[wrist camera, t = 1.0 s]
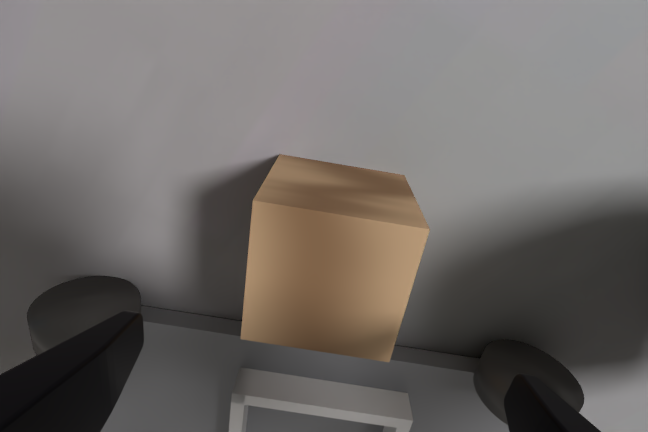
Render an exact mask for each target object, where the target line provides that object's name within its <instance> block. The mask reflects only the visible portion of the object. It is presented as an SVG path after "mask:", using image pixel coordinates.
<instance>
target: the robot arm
mask: <svg viewBox="0 0 648 432" xmlns="http://www.w3.org/2000/svg"><path fill="white" fill-rule="evenodd" d="M143 344H144V327H143V316H142V314H141V313H139V312H133V311H127V310H125V311H121V312H119V313H117V314H115V315H113V316H112V317H110V318H108V319H106V320H104V321H102V322H100V323H98V324H96V325H94V326H92V327H91V328H89V329H87V330H85V331H83V332H81V333H79V334H77V335H75V336H73V337H71V338H69V339H68V340H66V341H64V342H62V343H60V344H58V345H56V346H54V347H52V348H50V349H48V350H47V351H45V352H43V353H41V354H39V355H37V356H35V357H33V358H31V359H29V360H27V361H25V362H24V363H22V364H20V365H18V366H16V367H14V368H12V369H10V370H8V371H6V372H4V373H3V374H1V375H0V432H100V431H101V430H102V428H103V427H104V425H105V423H106V422H107V420H108V418H109V416H110V415H111V413H112V411H113V409H114V407H115V405H116V403H117V401H118V399H119V397H120V395H121V393H122V390H123V388H124V386H125V384H126V382H127V380H128V378H129V376H130V373H131V371H132V369H133V367H134V365H135V363H136V361H137V359H138V356H139V354H140V352H141V350H142V347H143ZM504 410H505V414H506V419H507V423H508V428H509V432H601V431H600V430H598V429H597V428H596V427H595V426H594V425H593V424H591V423H590V422H589V421H588V420H587V419H586V418H584V417H583V416H582V415H581V414H580V413H579V412H577V411H576V410H575V409H574V408H573V407H572V406H570V405H569V404H568V403H567V402H566V401H564V400H563V399H562V398H561V397H560V396H559V395H557V394H556V393H555V392H554V391H553V390H552V389H550V388H549V387H548V386H547V385H546V384H545V383H543V382H542V381H541V380H540V379H539V378H538V377H536V376H534V375H529V374H522V373H518V374H516V375H515V376H514V378H513V380H512V382H511V384H510V386H509V388H508V390H507V392H506V394H505V397H504Z"/></svg>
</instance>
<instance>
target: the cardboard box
mask: <svg viewBox="0 0 648 432" xmlns="http://www.w3.org/2000/svg"><path fill="white" fill-rule="evenodd" d="M429 231H430V229H429V227H428V224H427V222H426V220H425V218H424V216H423V214H422V212H421V210H420V208H419V205H418V203H417V201H416V199H415V197H414V195H413V193H412V191H411V188H410V186H409V184H408V182H407V180H406V178H405V176H404V175H400V174H394V173H388V172H382V171H376V170H370V169H364V168H358V167H352V166H346V165H340V164H334V163H328V162H322V161H316V160H310V159H304V158H299V157H293V156H287V155H281V154H280V155H279V156H278V158H277V160H276V162H275V163H274V165H273V167H272V168H271V170H270V172H269V173H268V175H267V177H266V179H265V180H264V182H263V184H262V185H261V187H260V189H259V191H258V192H257V194H256V196H255V197H254V199H253V204H252V215H251V226H250V237H249V249H248V260H247V271H246V282H245V293H244V305H243V316H242V327H241V338H240V339H243V340H249V341H256V342H262V343H268V344H275V345H281V346H288V347H294V348H300V349H307V350H313V351H319V352H326V353H332V354H339V355H345V356H351V357H358V358H364V359H371V360H377V361H383V362H390V359H391V355H392V352H393V349H394V345H395V342H396V339H397V336H398V332H399V329H400V326H401V322H402V319H403V316H404V313H405V309H406V306H407V303H408V300H409V296H410V293H411V290H412V286H413V283H414V280H415V277H416V273H417V270H418V267H419V264H420V260H421V257H422V254H423V250H424V247H425V244H426V241H427V237H428V234H429Z"/></svg>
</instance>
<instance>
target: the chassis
mask: <svg viewBox="0 0 648 432" xmlns="http://www.w3.org/2000/svg"><path fill="white" fill-rule="evenodd" d="M125 310H127V311H133V312H139V313H141V314H142V316H143V327H144V344H143V347H142V350H141V352H140V354H139V356H138V359H137V361H136V363H135V365H134V367H133V369H132V371H131V373H130V376H129V378H128V380H127V382H126V384H125V386H124V388H123V390H122V393H121V395H120V397H119V399H118V401H117V403H116V405H115V407H114V409H113V411H112V413H111V415H110V416H109V418H108V420H107V422H106V423H105V425H104V427H103V428H102V430H101V431H100V432H509V428H508V423H507V419H506V414H505V410H504V397H505V394H506V392H507V390H508V388H509V386H510V384H511V382H512V380H513V378H514V376H515V375H516V374H518V373H522V374H529V375H534V376H536V377H538V378H539V379H540V380H541V381H542V382H543V383H545V384H546V385H547V386H548V387H549V388H550V389H552V390H553V391H554V392H555V393H556V394H557V395H559V396H560V397H561V398H562V399H563V400H564V401H566V402H567V403H568V404H569V405H570V406H572V407H573V408H574V409H575V410H576V411H577V412H579V411H580V410H581V408H582V406H583V404H584V394H583V391H582V389H581V387H580V385H579V383H578V381H577V380H576V379H575V377H574V376H573V375H572V374H571V373H570V372H569V370H567V369H566V368H565V367H564V366H563V365H562V364H561V363H560V362H558V361H557V360H556V359H554V358H553V357H551V356H550V355H548V354H547V353H545V352H543V351H541V350H539V349H537V348H535V347H533V346H530V345H528V344H525V343H522V342H518V341H513V340H497V341H493V342H491V343H489V344H488V345H487V346H486V347H485V349H484V351H483V354H482V356H481V358H480V359H478V358H472V357H465V356H459V355H453V354H446V353H440V352H434V351H427V350H421V349H414V348H408V347H402V346H395V345H394V349H393V352H392V355H391V359H390V362H383V361H377V360H371V359H364V358H358V357H351V356H345V355H339V354H332V353H326V352H319V351H313V350H307V349H300V348H294V347H288V346H281V345H275V344H268V343H262V342H256V341H249V340H243V339H240V338H241V327H242V321H236V320H230V319H223V318H217V317H211V316H204V315H198V314H191V313H185V312H179V311H172V310H166V309H160V308H153V307H147V306H141V299H140V293H139V291H138V289H137V288H136V287H135V286H134V285H133V284H131V283H130V282H128V281H126V280H123V279H120V278H115V277H107V276H94V277H85V278H79V279H75V280H71V281H68V282H65V283H62V284H59V285H57V286H55V287H53V288H51V289H49V290H47V291H46V292H44V293H43V294H41V295H40V296H39V297H38V298H37V299H35V301H34V302H33V303H32V304H31V306H30V307H29V310H28V312H27V320H28V325H29V330H30V335H31V340H32V345H33V349H34V351H35V353H36V354H37V355H39V354H41V353H43V352H45V351H47V350H48V349H50V348H52V347H54V346H56V345H58V344H60V343H62V342H64V341H66V340H68V339H69V338H71V337H73V336H75V335H77V334H79V333H81V332H83V331H85V330H87V329H89V328H91V327H92V326H94V325H96V324H98V323H100V322H102V321H104V320H106V319H108V318H110V317H112V316H113V315H115V314H117V313H119V312H121V311H125Z"/></svg>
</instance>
